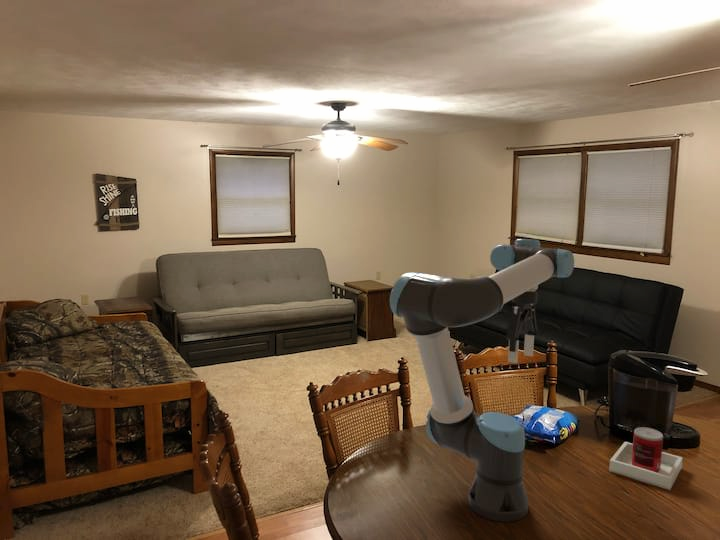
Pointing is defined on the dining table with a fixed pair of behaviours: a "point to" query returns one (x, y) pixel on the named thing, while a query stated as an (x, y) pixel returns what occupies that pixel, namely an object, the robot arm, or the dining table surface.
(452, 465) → the dining table surface
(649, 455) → the canned food
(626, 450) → the tray
